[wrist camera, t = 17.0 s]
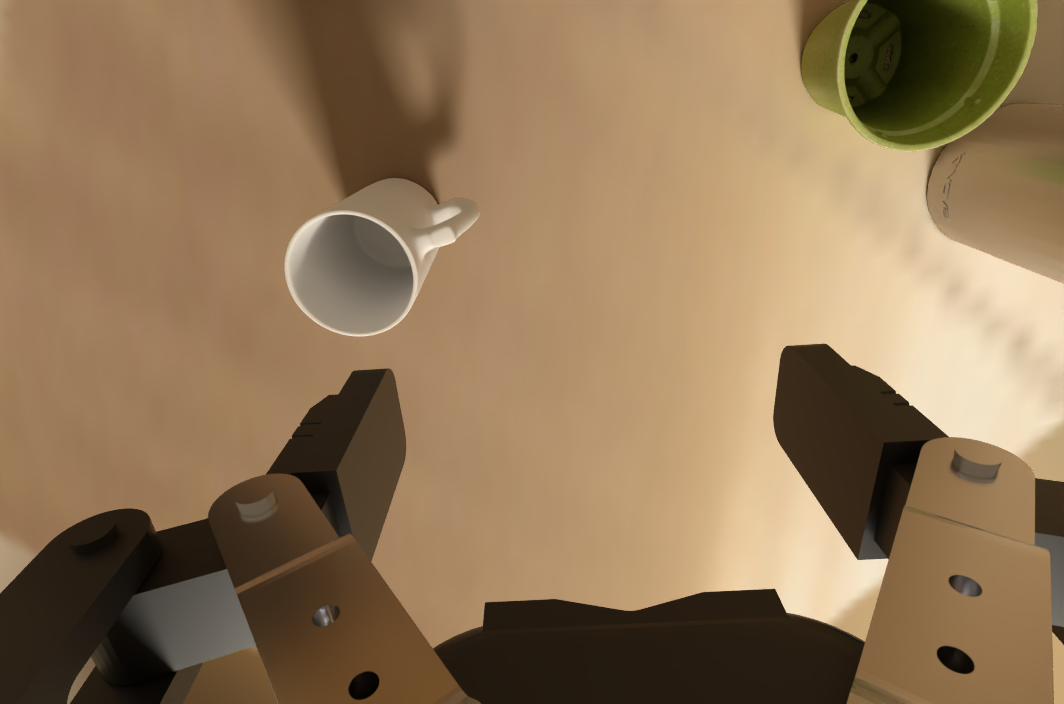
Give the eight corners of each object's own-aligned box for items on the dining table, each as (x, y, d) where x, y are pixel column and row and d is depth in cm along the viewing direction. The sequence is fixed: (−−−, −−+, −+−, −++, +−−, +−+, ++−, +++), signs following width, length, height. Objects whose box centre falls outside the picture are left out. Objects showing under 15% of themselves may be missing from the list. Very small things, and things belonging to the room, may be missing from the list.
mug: (377, 283, 43) (324, 353, 32) (332, 194, 40) (258, 238, 29) (506, 235, 41) (496, 291, 30) (468, 140, 39) (443, 164, 28)
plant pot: (783, -28, 35) (856, -60, 27) (945, -38, 34) (1067, -72, 27) (764, 140, 39) (823, 156, 31) (909, 132, 38) (1006, 146, 30)
